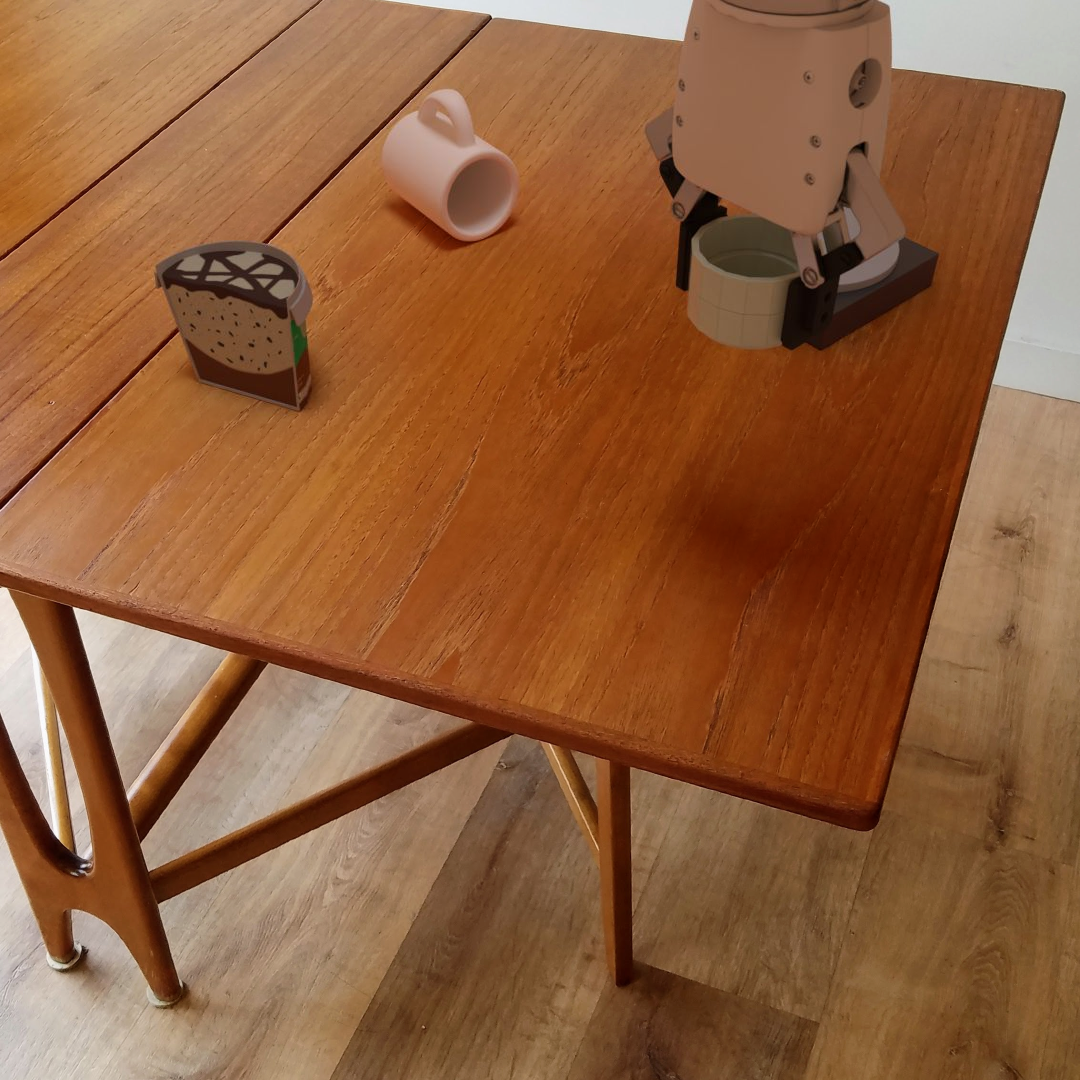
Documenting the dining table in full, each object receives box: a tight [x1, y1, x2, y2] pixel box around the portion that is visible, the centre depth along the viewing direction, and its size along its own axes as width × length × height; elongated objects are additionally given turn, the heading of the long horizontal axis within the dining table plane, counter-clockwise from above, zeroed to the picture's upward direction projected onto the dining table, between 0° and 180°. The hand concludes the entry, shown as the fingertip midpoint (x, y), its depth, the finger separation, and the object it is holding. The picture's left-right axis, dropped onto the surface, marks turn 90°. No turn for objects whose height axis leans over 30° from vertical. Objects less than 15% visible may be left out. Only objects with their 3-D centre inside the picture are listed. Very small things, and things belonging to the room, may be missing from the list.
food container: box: [153, 240, 314, 413], centre depth 86 cm, size 12×6×10 cm, turn 65°
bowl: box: [686, 213, 824, 351], centre depth 62 cm, size 7×7×4 cm
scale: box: [806, 207, 940, 351], centre depth 95 cm, size 14×14×4 cm
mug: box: [380, 88, 520, 242], centre depth 102 cm, size 8×10×12 cm
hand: (749, 306), depth 63 cm, fingers closed on bowl, 6 cm apart
